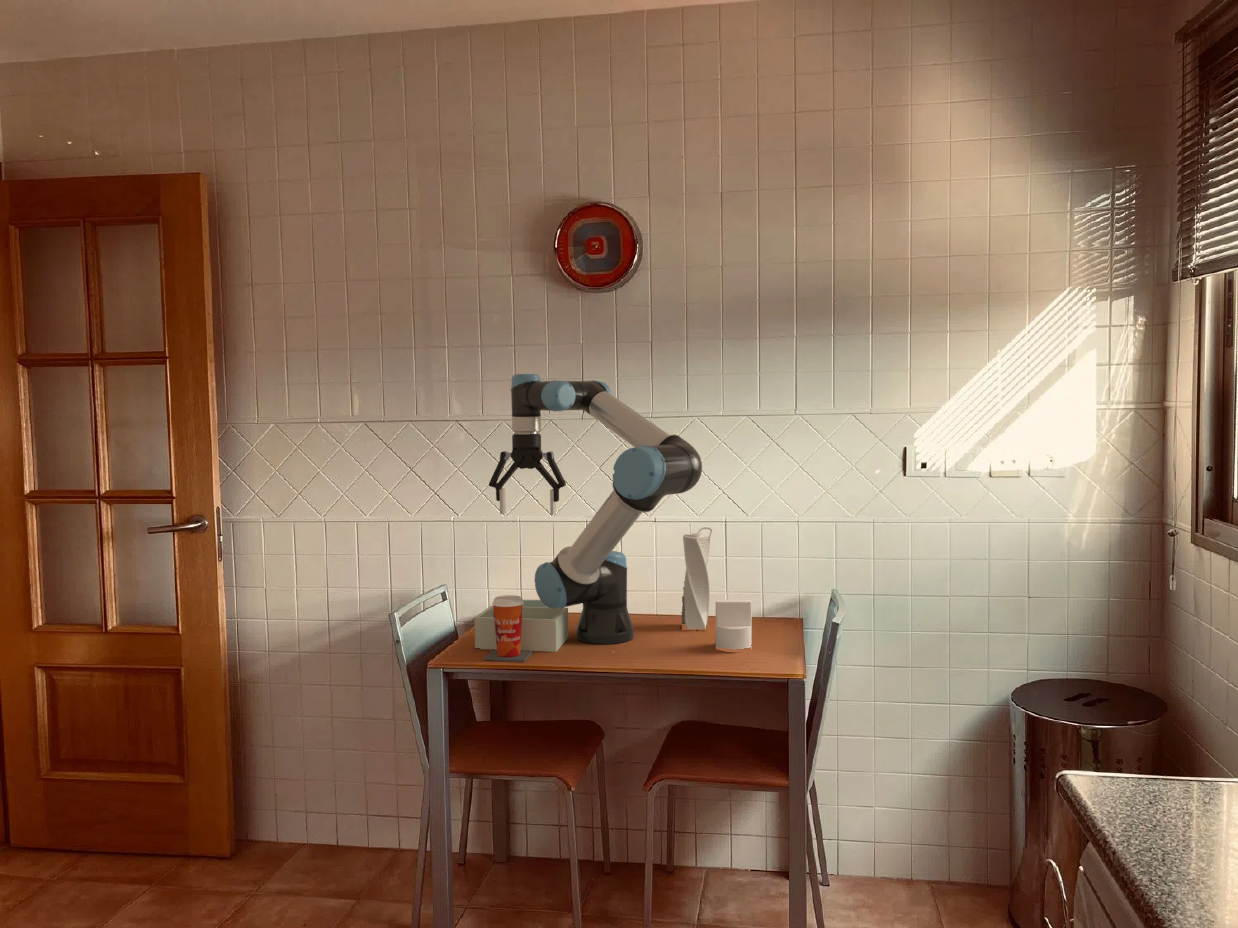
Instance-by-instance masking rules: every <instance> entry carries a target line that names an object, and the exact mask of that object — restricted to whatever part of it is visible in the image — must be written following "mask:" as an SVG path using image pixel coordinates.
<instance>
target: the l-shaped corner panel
mask: <svg viewBox="0 0 1238 928" xmlns="http://www.w3.org/2000/svg"><path fill="white" fill-rule="evenodd" d="M523 602H524V604H522V606H523V607H547V606H545V605H544V604H543V603H542V601H541V600H540V599H523Z"/></svg>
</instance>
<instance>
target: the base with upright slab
mask: <svg viewBox="0 0 1238 928" xmlns="http://www.w3.org/2000/svg"><path fill="white" fill-rule="evenodd" d="M752 601H753V600H751V599H715V648H716V647H718V648H724V649H734V650H736V649H744V648H750V647H751V648H752V646H751V645H752V639H753V638H752V630H753V629H752V626H753V625H752V621H753V619H752V614H753V613H752V611H753V610H752V609H753V608H752V606H753V605H752V603H753V602H752Z"/></svg>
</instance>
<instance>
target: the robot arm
mask: <svg viewBox="0 0 1238 928" xmlns="http://www.w3.org/2000/svg"><path fill="white" fill-rule="evenodd" d="M510 385H511V387H510V393H511V395H510V397H511V431H512V433H513V434H512V435H511V440H512V441H511V445H512V447H511V448H512V449H511V450H512V451H511V452H509V451H506V450H505V451H501V452H500V455H499V461H498V462H497V465H496V467H495V469H494V472H493V474H492V476H491V478H490V480H489V483H488V486H489V487H492V488H494V489H495V500H496V502H499V514H500V515H504V514H506V511H507V510H506V488H503V487H504V485H505V484H506V483H507V481H509V480H510V478H511V476H512V477H513V475H514V473H515V472H516V471H517V470H518V469H520V470H524V469H529V470H533V469H536V470H537V471H538V472H539V474H540V475H541V476H542V477H543V478H544V480H545V481H546V482H547V484H549V485H550V486H551V488H552V489H550V490H549V498H550V499H549V507H550V508H549V509H550V512H549V513H550V516H554V515H556V502H559V501H560V489H561V488H564V487H566V486H567V482H566V481H565V479H564V477H563V475H562V473H561V471H560V469H559V467H558V464H557V462H556V460H555V455H554V451H547V452H543V451H542V435H541V434H540V432H542V422H541V420H542V414H541V411H550V412H552V411H553V412H563V411H583V412H585V413H587V414H588V415H589V416H591V417H593V418H594V419H595V420H596V421H598V422H600V423H601V424H602V425H603V426H605V427H606V428H607V429H609V430H610V431H612V432H613V433H614V434H615V435H617V436H619V437H620V438H622V439H623V440H624V441H625V442H627V443H628V444H629V445H631V446H632V447H631V448H628V449H625V450H624V451H623V452H622V453H621V454H620V455H619V456H618V457H617V459H616V460H615V463H614V465H613V467H612V468H613V471H614V473H612V482H611V483H612V491H611V492H610V494H609V496H607V498H606V499H605V501H604V502H603V504H602V505H601V506H600V508H599V509H598V510H597V511H596V513H595V514H594V516H593V517H592V519H590V521H589V523H588V524H587V525H586V527H585V528H584V529H583V530H582V532H581V533H580V534H579V535H578V537H577V538H576V540H575V541H574V542H573V544H572V545H571V546H565V547H563V548H562V549H561V550H560V551H559V552H558V554H557V555H556V556H555V558H554V559H553V560H552V561H551V562H549V561H548V562H547V561H545V562H544V563H542V564H539V566H537V568H536V570H535V573H534V588H535V590H536V593H537V596H538V599H539V600H541V601H542V603H543V604H544V605H545V606H547V607H549V608H552V609H556V608H569V607H571V606H576V605H580V604H582V611H581V614H580V617H579V620H578V623H577V627H576V639H577V640H579V641H581V642H583V643H588V644H597V645H598V644H600V645H603V644H604V645H607V644H608V645H611V644H618V643H619V644H620V643H625V642H628V641H630V640H632V639H634V637H635V629H634V625H633V622H632V620H631V616H630V614H629V611H628V603H627V602H628V566H627V557H626V555H625V553H623V552H621V551H616V550H614V549H615V548H616V546H617V545H618V544H619V543H620V542H621V540H622V538H623V537H624V536H626V534H627V533H628V531H629V530H630V529H631V527H632V526H633V525H634V524H635V523H636V521H637V520H638V519H639V518H640V516H641V515H642V514H643V513H649V512H651V511H653V510H654V509H655V507H656V506H657V505H658V504H659V503H660V501H661V500H662V499H663V498H664V497H666V496H670V495H671V496H672V495H678V494H683V493H685V492H689V491H690V490H692V489H693V488H694V487H695V486H696V485H697V483H698V482H699V481H700V479H701V476H702V472H703V465H702V464H703V463H702V459H701V456H700V454H699V453H698V451H697V449H696V448H695V447H694V446H693V445H692V444H690V443H689V442H688V441H686V440H685V439H684V438H683V437H681V436H679V435H677V434H669V433H668V432H666V431H665V430H663V429H661V427H659V426H657V425H656V424H654V423H653V422H651V420H649V419H647V418H646V417H644V416H643V415H641V414H640V413H639V412H637V411H636V410H634V409H633V408H631V407H630V406H629V405H627V404H626V403H624V402H623V401H622V400H620V399H618V398H617V397H616V396H614V395H612V390H611V389H610V386H609V385H608V384H607V383H606V382H603V381H599V380H598V381H597V380H580V381H579V380H578V381H577V380H576V381H575V380H556V379H555V380H547V381H545V380H544V381H541V376H540V374H538V373H515V374H513V375H512V377H511V384H510ZM510 458H511V459H512V461H513V463H512V464H511V466H510V467H509V468H508V470H507V471H506V472H505V474H503V476H502V477H501V478H500V476H501V474H502V471H503V470H504V467H505V465H506V463H507V461H509V459H510ZM543 458H544V460H545V461H547V463H548V464H549V468H550V469H551V471H552V473H553V475H554V477H555V478H554V477H553V476H552V475H551V473H549V471H548V470H547V469H546V468H545V467H544V465H543V463H542V462H541V461H542V459H543ZM555 479H556V480H555ZM498 480H499V481H498Z"/></svg>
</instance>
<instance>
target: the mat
mask: <svg viewBox="0 0 1238 928" xmlns="http://www.w3.org/2000/svg"><path fill="white" fill-rule="evenodd" d="M533 652H534V651H524V650H520V655H519V656H516V657H500V656H498V654H497V649H494V650H493V649H491V651H490V652H489V653H488V654H487V655H486V656H485V657H483V661H484V660H493V661H492V662H508V663H509V662H510V663H511V662H512V663H514V662H515V663H525V662H526V661H527V660H528V659H529V658H530V656H532V654H533ZM494 660H495V661H494Z"/></svg>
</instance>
